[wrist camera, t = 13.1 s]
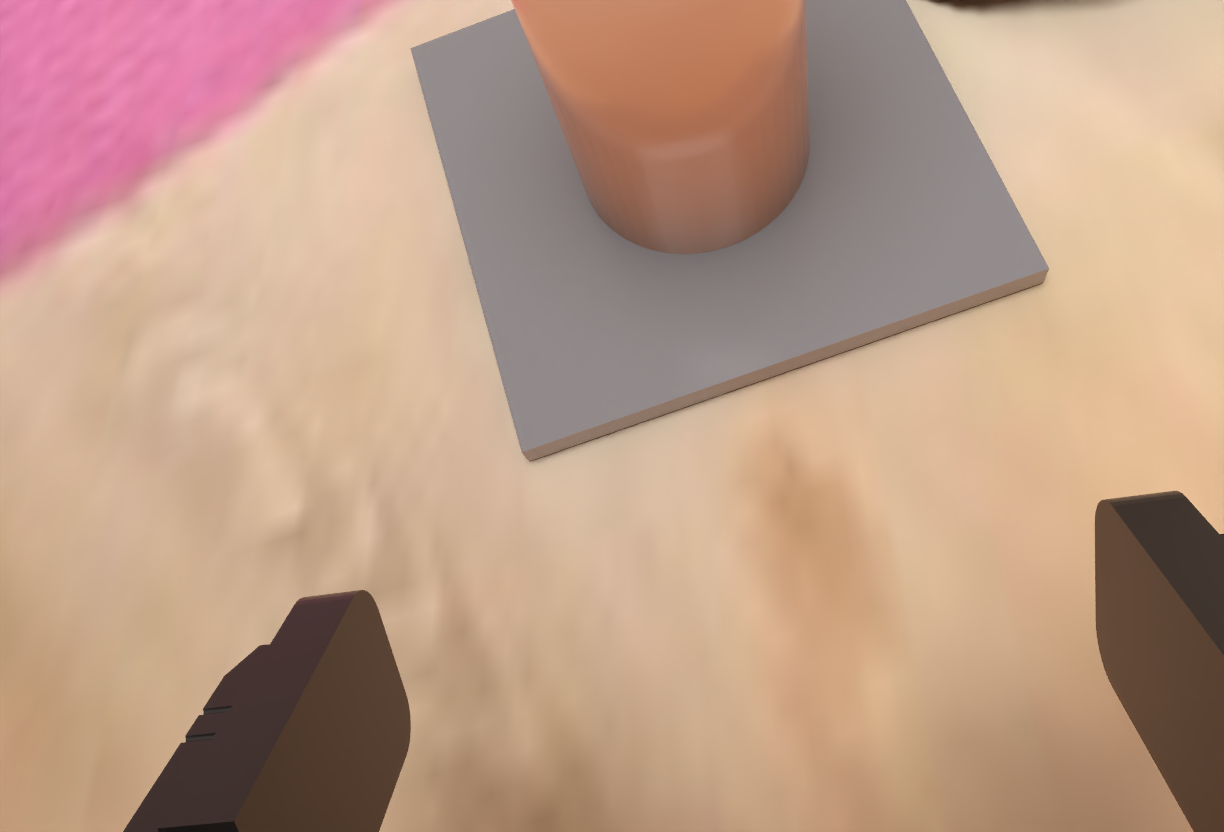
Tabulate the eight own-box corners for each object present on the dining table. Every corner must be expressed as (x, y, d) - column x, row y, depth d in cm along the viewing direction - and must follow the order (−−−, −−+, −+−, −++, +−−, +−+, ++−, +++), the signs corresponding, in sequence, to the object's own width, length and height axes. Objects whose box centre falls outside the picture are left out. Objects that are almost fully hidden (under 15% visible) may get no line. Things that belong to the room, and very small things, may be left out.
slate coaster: (529, 461, 22) (521, 452, 21) (419, 64, 26) (410, 48, 25) (1043, 282, 21) (1048, 268, 20) (843, -96, 25) (843, -116, 25)
